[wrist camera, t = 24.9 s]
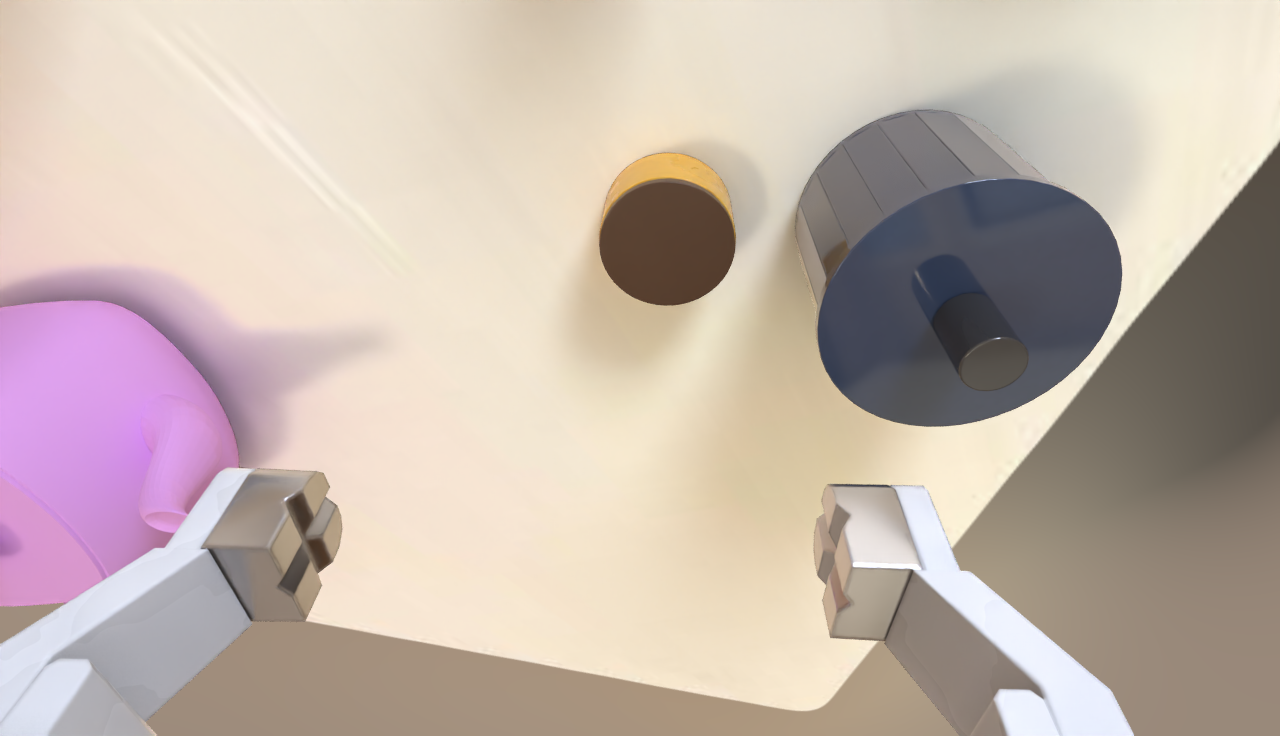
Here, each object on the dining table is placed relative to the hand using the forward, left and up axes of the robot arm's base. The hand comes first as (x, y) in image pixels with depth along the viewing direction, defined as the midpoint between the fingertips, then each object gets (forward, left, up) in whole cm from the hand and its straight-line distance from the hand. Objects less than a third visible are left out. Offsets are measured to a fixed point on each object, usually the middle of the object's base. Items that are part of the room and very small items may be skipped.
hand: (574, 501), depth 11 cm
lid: (+7, +14, -19) cm, 25 cm away
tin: (+7, +2, -28) cm, 29 cm away
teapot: (+21, -35, -28) cm, 49 cm away
